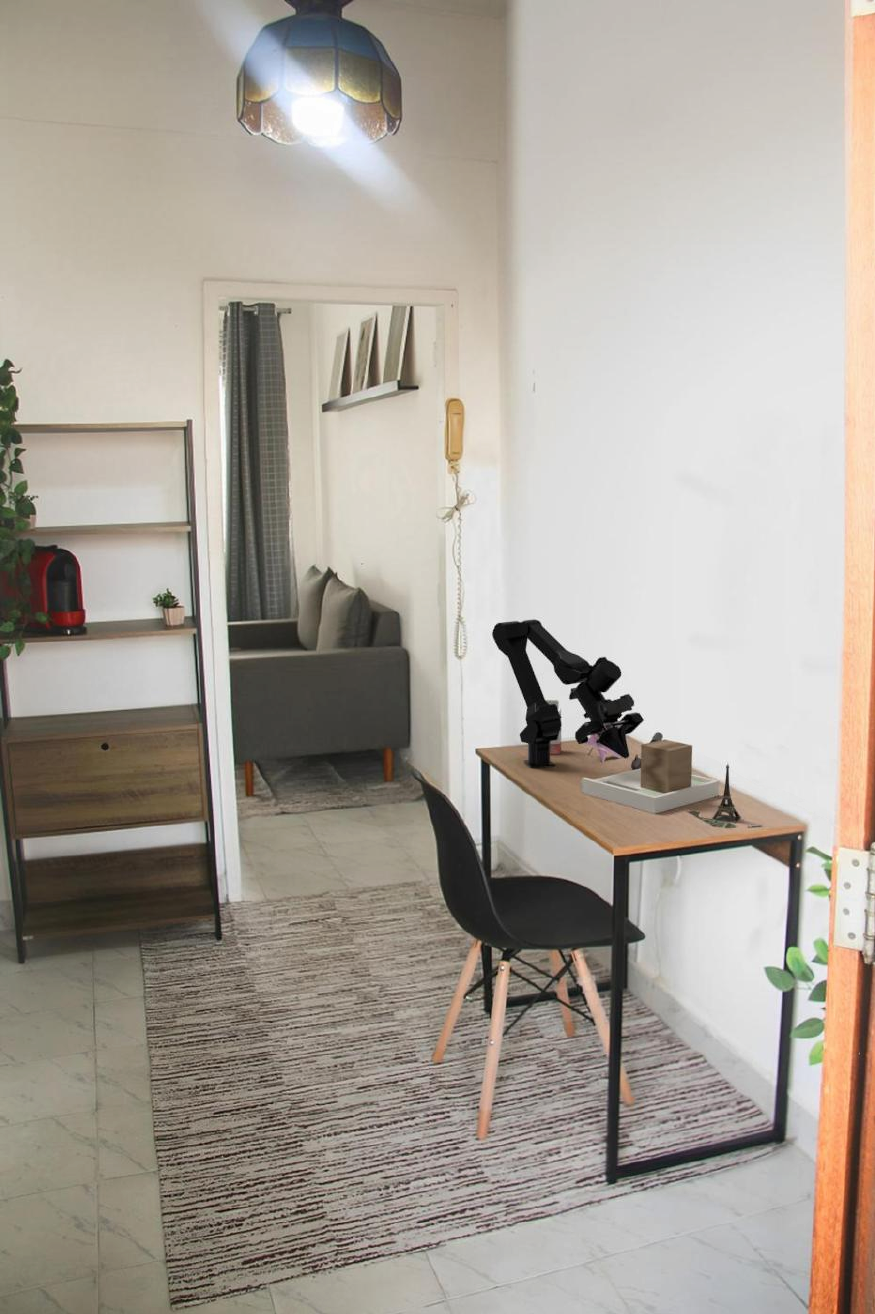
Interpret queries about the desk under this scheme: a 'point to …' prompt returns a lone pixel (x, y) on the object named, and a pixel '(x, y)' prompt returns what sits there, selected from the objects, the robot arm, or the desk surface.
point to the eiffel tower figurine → (723, 810)
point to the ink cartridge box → (556, 744)
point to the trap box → (648, 791)
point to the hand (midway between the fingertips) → (627, 757)
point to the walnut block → (666, 766)
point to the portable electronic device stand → (637, 761)
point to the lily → (600, 747)
